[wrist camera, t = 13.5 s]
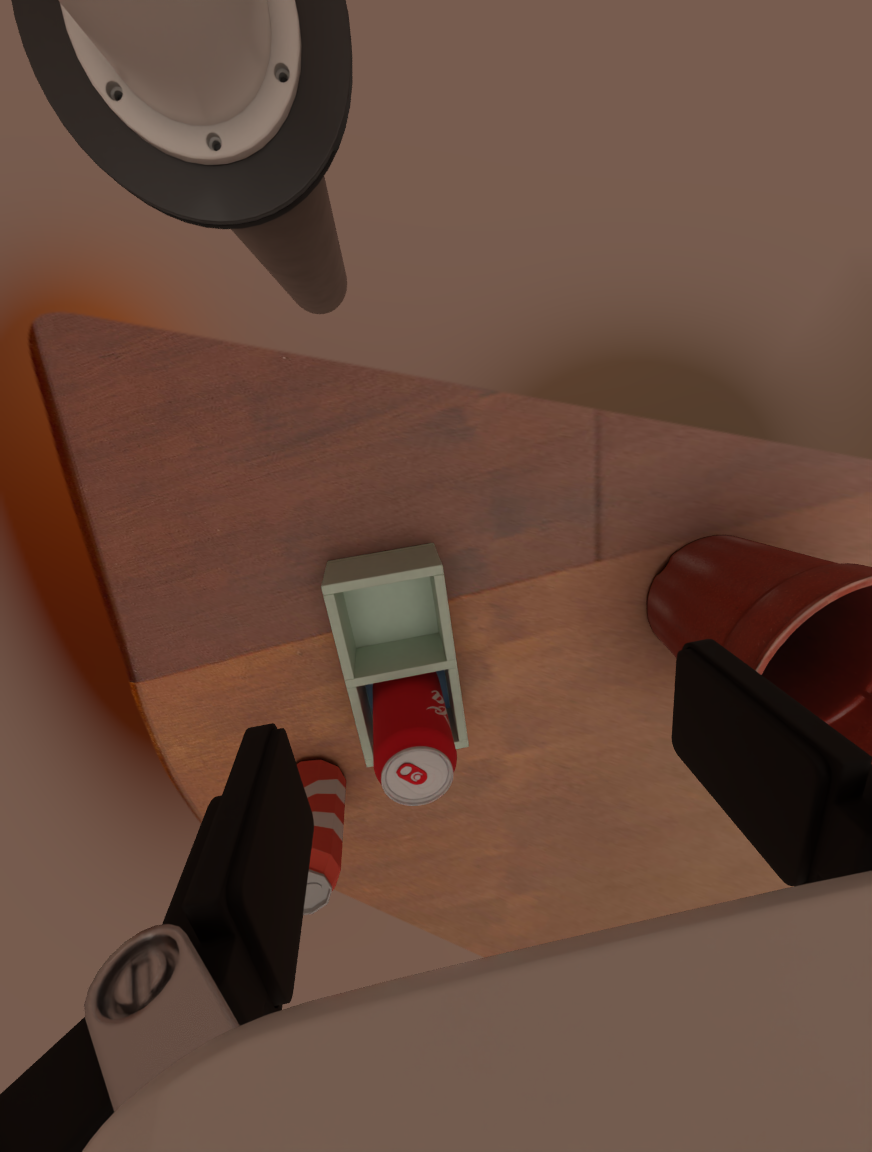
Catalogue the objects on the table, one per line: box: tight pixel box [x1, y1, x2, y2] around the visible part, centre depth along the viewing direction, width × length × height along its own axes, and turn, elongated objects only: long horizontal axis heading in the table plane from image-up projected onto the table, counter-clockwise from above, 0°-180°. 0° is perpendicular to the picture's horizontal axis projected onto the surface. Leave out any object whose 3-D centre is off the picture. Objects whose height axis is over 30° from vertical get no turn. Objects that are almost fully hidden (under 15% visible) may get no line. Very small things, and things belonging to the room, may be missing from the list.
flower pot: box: [647, 535, 872, 764], centre depth 39 cm, size 16×16×16 cm
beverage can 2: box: [373, 672, 457, 806], centre depth 40 cm, size 6×6×12 cm
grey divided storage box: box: [321, 543, 469, 767], centre depth 42 cm, size 18×9×6 cm, turn 8°
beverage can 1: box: [297, 759, 346, 915], centre depth 43 cm, size 6×6×12 cm
